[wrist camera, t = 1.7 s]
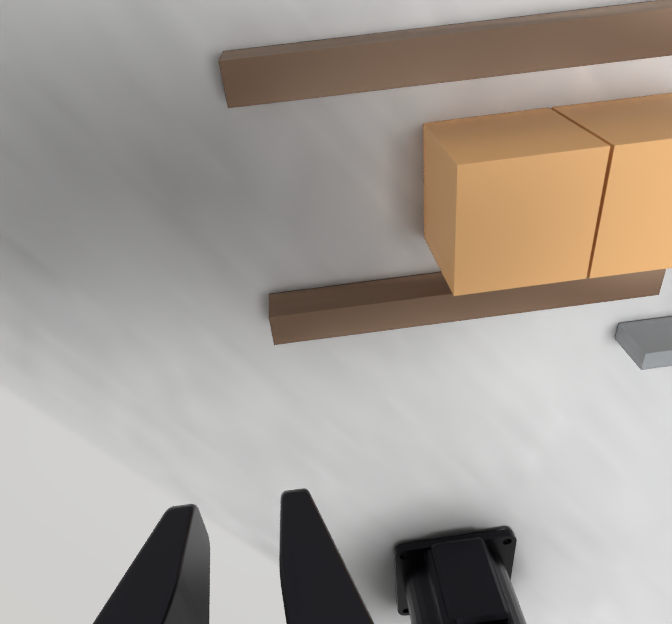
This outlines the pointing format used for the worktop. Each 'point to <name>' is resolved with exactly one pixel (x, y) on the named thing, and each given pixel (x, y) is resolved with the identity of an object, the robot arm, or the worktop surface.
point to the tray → (647, 341)
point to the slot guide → (429, 68)
